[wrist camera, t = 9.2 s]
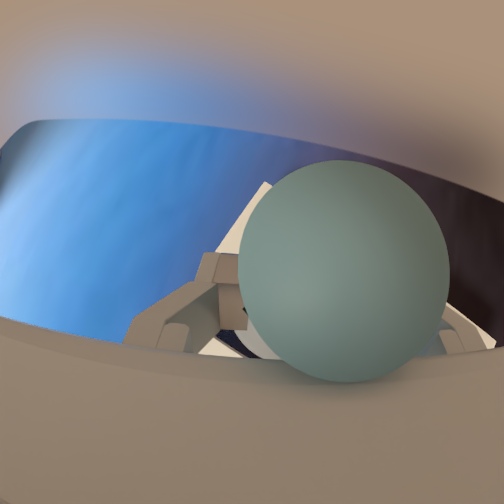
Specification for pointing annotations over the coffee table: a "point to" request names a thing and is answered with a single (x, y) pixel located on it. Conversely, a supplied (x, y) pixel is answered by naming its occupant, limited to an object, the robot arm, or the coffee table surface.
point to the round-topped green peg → (342, 272)
